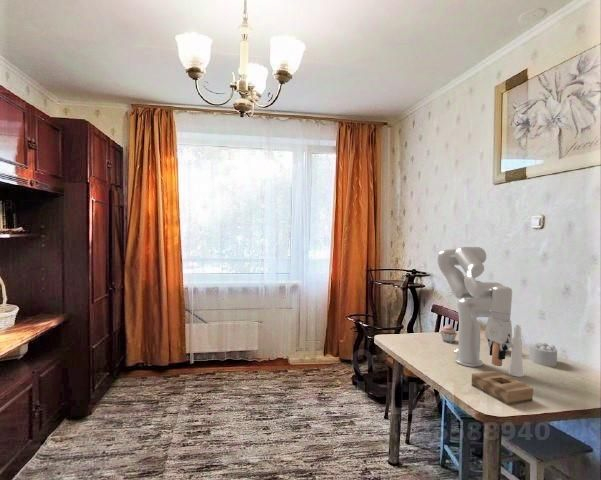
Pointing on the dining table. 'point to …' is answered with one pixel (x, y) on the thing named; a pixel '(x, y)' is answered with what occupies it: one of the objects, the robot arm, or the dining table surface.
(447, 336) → the cupcake
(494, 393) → the socket board
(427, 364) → the dining table surface
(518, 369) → the cosmetic bottle
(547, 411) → the dining table surface
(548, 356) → the lumpy-topped squat cylinder
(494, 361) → the peg
